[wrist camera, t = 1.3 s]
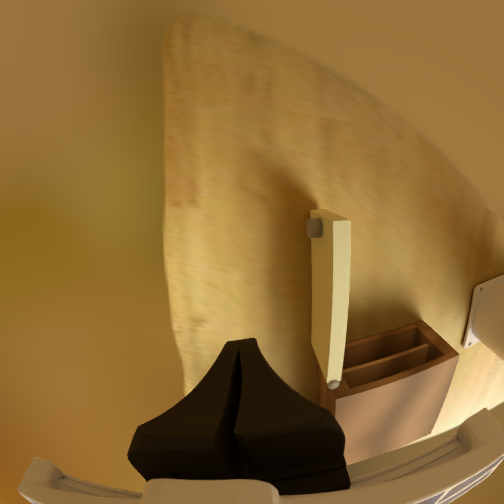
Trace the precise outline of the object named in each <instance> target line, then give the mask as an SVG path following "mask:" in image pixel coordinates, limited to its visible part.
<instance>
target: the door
mask: <svg viewBox="0 0 504 504" xmlns="http://www.w3.org/2000/svg"><path fill="white" fill-rule="evenodd" d="M305 228H306V235H307V238H311V257H312V329H311V344H312V347H313V349H314V352H315V354H316V357H317V359H318V362H319V365H320V367H321V370H322V372H323V375H324V378H325V380H326V383H327V385H328V388H329V389H335V388H337V387H338V386H339V381H341V375H342V367H343V359H344V350H345V341H346V330H347V318H348V304H349V286H350V256H351V220H349V219H347V218H344V217H342V216H340V215H337V214H335V213H332V212H330V211H327V210H325V209H316V210H310V218H309V219H306V223H305Z"/></svg>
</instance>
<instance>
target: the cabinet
mask: <svg viewBox="0 0 504 504" xmlns="http://www.w3.org/2000/svg"><path fill="white" fill-rule="evenodd" d="M459 355H460V354H459V353H458V352H457V351H455V350H454V349H453V348H452V347H451V346H450V345H449V344H448V343H447V342H446V341H445V340H444V339H443V338H442V337H441V336H439V335H438V334H437V333H436V332H435V331H434V330H433V329H432V328H431V327H430V326H429V325H427V324H426V323H425V322H424V321H420V322H417V323H414V324H411V325H408V326H405V327H402V328H399V329H395V330H392V331H389V332H385V333H382V334H379V335H375V336H371V337H368V338H364V339H360V340H357V341H353V342H349V343H345V350H344V359H343V367H342V375H341V381H339V386H338V387H337V388H335V389H329V388H328V385H327V383H326V380H325V378H324V375H323V372H322V370H321V367H320V365H319V362H318V359H317V370H318V394H319V406H321V407H323V408H325V409H327V410H329V411H330V412H331V413H332V415H333V416H334V417H335V419H336V420H337V422H338V423H339V425H340V426H341V428H342V430H343V432H344V434H345V439H346V442H345V450H344V457H345V460H346V465H349V464H352V463H355V462H359V461H362V460H365V459H368V458H371V457H374V456H377V455H380V454H383V453H386V452H388V451H391V450H394V449H396V448H399V447H401V446H404V445H406V444H408V443H411V442H413V441H415V440H417V439H420V438H422V437H424V436H426V435H428V434H430V433H431V431H432V429H433V427H434V425H435V423H436V420H437V418H438V416H439V413H440V411H441V408H442V406H443V403H444V401H445V398H446V395H447V393H448V390H449V387H450V384H451V381H452V378H453V375H454V372H455V369H456V365H457V362H458V358H459Z"/></svg>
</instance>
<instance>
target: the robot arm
mask: <svg viewBox="0 0 504 504" xmlns="http://www.w3.org/2000/svg"><path fill="white" fill-rule="evenodd" d="M479 341H481V342H482V343H483V344H484V345H486V346H487V347H488V348H489V349H490V350H491V351H493V352H494V353H495V354H496V355H497V356H498V357H499V358H501V359H502V360H503V361H504V274H503V275H501V276H499V277H496V278H494V279H491V280H489V281H486V282H484V283H482V284H479V285H477V286H476V287H475V288H474V292H473V298H472V304H471V310H470V315H469V320H468V325H467V330H466V334H465V338H464V342H463V348H465V349H466V348H468V347H470V346H472V345H474V344H476V343H478V342H479ZM345 442H346V439H345V434H344V432H343V430H342V428H341V426H340V425H339V423H338V422H337V420H336V419H335V417H334V416H333V415H332V413H331V412H330V411H329V410H327V409H325V408H323V407H321V406H319V405H316V404H314V403H313V402H311V401H309V400H308V399H306V398H304V397H303V396H301V395H300V394H299V393H297V392H296V391H294V390H293V389H292V388H291V387H289V386H288V385H287V384H286V383H285V382H284V381H283V380H282V379H281V378H280V377H279V376H278V375H277V374H276V373H275V372H274V370H273V369H272V368H271V367H270V365H269V364H268V363H267V361H266V360H265V358H264V357H263V355H262V353H261V351H260V349H259V347H258V345H257V340H256V339H255V338H249V339H242V340H235V341H227V342H226V344H225V345H224V347H223V349H222V351H221V353H220V354H219V356H218V358H217V359H216V361H215V362H214V364H213V365H212V367H211V368H210V370H209V371H208V372H207V374H206V375H205V376H204V378H203V379H202V380H201V381H200V383H199V384H198V385H197V386H196V387H195V388H194V389H193V390H192V391H191V392H190V393H189V394H188V395H187V396H186V397H184V398H183V399H182V400H181V401H180V402H178V403H177V404H176V405H175V406H173V407H172V408H170V409H169V410H167V411H166V412H164V413H163V414H161V415H160V416H158V417H156V418H154V419H152V420H150V421H148V422H146V423H144V424H142V425H140V426H138V428H137V430H136V432H135V434H134V436H133V439H132V442H131V445H130V448H129V451H128V454H127V456H128V460H129V461H130V462H131V464H132V465H133V467H134V468H135V469H136V470H137V471H138V472H139V473H140V474H141V475H142V476H143V477H144V478H145V479H146V483H145V486H144V490H143V493H139V492H133V491H128V490H123V489H118V488H113V487H109V486H105V485H100V484H96V483H93V482H89V481H85V480H82V479H79V478H76V477H73V476H70V475H67V474H64V473H63V472H62V471H61V470H60V469H59V468H58V467H57V466H56V465H55V464H53V463H51V462H49V461H47V460H44V459H41V458H39V457H34V459H33V461H32V463H31V465H30V467H29V468H28V470H27V472H26V474H25V476H24V478H23V479H22V481H21V483H20V485H19V487H18V489H17V491H18V492H19V493H20V494H21V495H22V496H24V497H25V498H26V499H27V500H29V501H30V502H31V503H32V504H449V503H450V502H452V501H453V500H455V499H456V498H458V497H459V496H461V495H462V494H464V493H465V492H467V491H468V490H470V489H471V488H473V487H474V486H475V485H477V484H478V483H480V482H481V481H483V480H484V479H485V478H487V477H488V476H489V475H490V474H491V473H492V472H493V470H494V469H495V468H496V467H497V466H498V465H499V464H500V462H501V461H502V460H503V458H504V429H503V428H502V426H501V425H500V424H499V423H498V422H497V420H496V419H495V418H494V417H493V416H492V414H491V413H490V412H489V411H488V410H487V408H483V409H482V410H480V411H479V412H477V413H476V414H474V415H473V416H471V417H469V418H468V419H467V420H465V421H464V422H463V423H462V424H461V425H460V427H459V428H458V431H457V433H456V435H454V436H452V437H451V438H449V439H447V440H445V441H443V442H441V443H440V444H438V445H436V446H434V447H432V448H430V449H428V450H426V451H424V452H422V453H419V454H417V455H415V456H413V457H410V458H408V459H406V460H404V461H401V462H399V463H396V464H394V465H391V466H389V467H386V468H383V469H381V470H378V471H375V472H372V473H369V474H366V475H363V476H360V477H356V478H353V479H350V478H349V475H348V472H347V469H346V460H345V457H344V450H345Z"/></svg>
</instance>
